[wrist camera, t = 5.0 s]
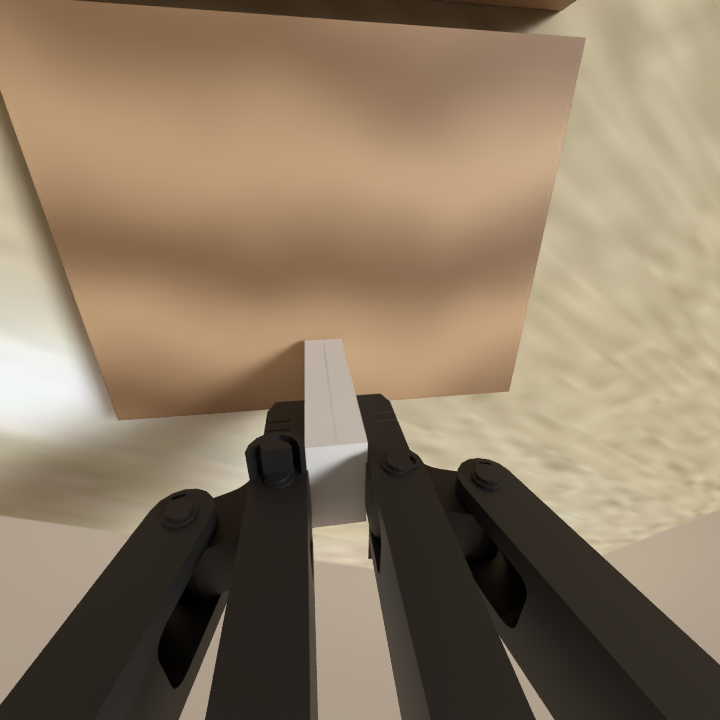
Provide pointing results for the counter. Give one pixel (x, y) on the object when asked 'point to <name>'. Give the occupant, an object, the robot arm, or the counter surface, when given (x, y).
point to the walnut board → (523, 3)
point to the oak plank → (287, 194)
